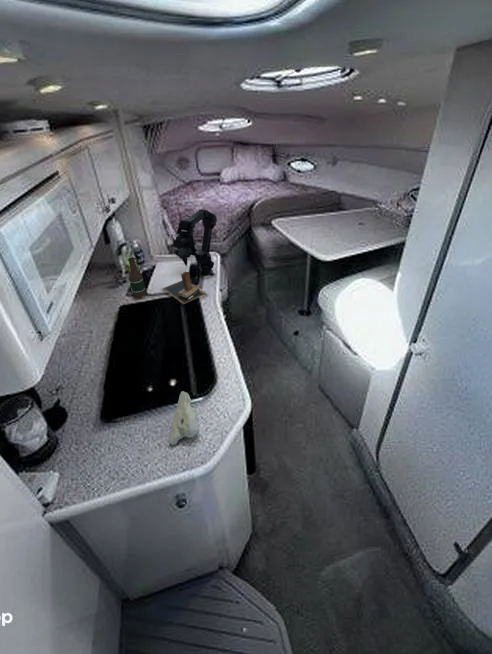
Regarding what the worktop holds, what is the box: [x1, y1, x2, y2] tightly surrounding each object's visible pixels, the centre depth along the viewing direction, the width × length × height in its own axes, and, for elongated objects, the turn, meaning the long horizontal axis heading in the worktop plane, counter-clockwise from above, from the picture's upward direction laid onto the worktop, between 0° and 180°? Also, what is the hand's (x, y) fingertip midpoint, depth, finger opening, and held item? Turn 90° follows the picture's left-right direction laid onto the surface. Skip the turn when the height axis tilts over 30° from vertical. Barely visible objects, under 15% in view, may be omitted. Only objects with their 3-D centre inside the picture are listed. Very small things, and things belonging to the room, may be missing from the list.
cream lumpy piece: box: [168, 390, 200, 446], centre depth 113 cm, size 15×7×15 cm
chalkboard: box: [161, 280, 207, 305], centre depth 194 cm, size 24×15×1 cm, turn 41°
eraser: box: [178, 271, 200, 299], centre depth 187 cm, size 6×11×13 cm, turn 148°
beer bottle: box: [127, 257, 147, 300], centre depth 188 cm, size 8×8×24 cm
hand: (192, 266), depth 194 cm, fingers open, 9 cm apart
